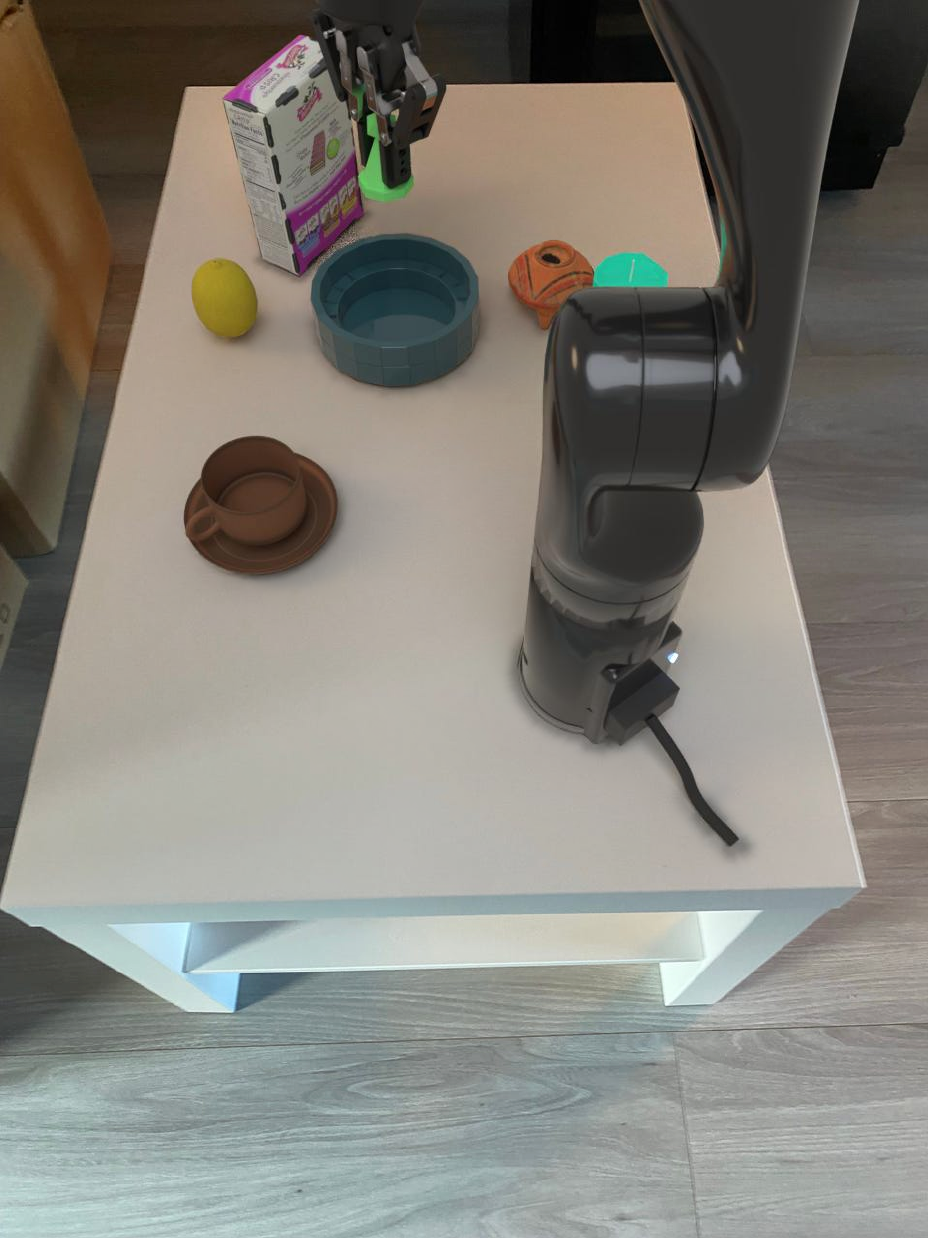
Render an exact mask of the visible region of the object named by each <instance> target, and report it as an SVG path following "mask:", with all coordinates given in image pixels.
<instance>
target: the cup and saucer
mask: <svg viewBox="0 0 928 1238" xmlns="http://www.w3.org/2000/svg"><path fill="white" fill-rule="evenodd" d="M200 472H201V473H200V477H199V479H198V480H197V481H196V482H195V484H194V485H193V487H192V488H191V490H190V492H189V493H188V496H187V498H186V501H185V505H184V510H183V526H184V533H185V536H186V538H187V539H188V540H189V542H190V544H191V545H192V547H193V548H194V549H195V550H196V551H197V553H198V554H199V555H201V556H202V557H203V558H204V559H205V560H207V561H208V562H209V563H210V564H212V565H214V566H216V567H218V568H221V569H223V570H226V571H229V572H232V573H233V572H234V573H236V574H243V575H262V574H263V575H264V574H270V573H275V572H279V571H282V570H285V569H288V568H290V567H293V566H295V565H297V564H299V563H301V562H302V561H304V560H306V559H307V558H309V557H310V556H311V555H313V554H314V553H315V552H317V550H318V549H319V548H321V546H322V545H323V544H324V543H325V541H326V540H327V539H328V537H329V536H330V535H331V532H332V530H333V528H334V526H335V522H336V520H337V515H338V507H339V505H338V504H339V502H338V492H337V489H336V486H335V484H334V482H333V480H332V479H331V477H330V475H329V474H328V473H327V471H326V470H325V469H324V468H323V467H322V466H321V465H320V464H318V462H316V461H314V460H313V459H311V458H309V457H307V456H305V455H303V454H300V453H297V452H294V451H293V449H292V448H291V447H290V446H288V444H286V443H284V442H282V441H281V440H279V439H276V438H274V437H270V436H266V435H247V436H242V437H238V438H237V437H236V438H234V439H231V440H229V441H227V442H225V443H223V444H222V445H220V446H219V447H217V448H216V449H215V450H213V452H212V453H211V454H210V455H209V456H208V457H207V458H206V460H205V462H204V464H203V466H202V468H201V471H200Z"/></svg>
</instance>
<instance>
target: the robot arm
mask: <svg viewBox="0 0 928 1238" xmlns="http://www.w3.org/2000/svg"><path fill="white" fill-rule="evenodd" d="M314 1H315V4H316V6H317V7H318V8H317V9H313V10H312V11H310V13H309V19H310V23H311V26H312V28H313V31H314V34H315V37H316V40H318V43H319V46H320V49H321V52H322V55H323V58H324V61H325V64H326V67H327V70H328V73H329V76H330V79H331V82H332V85H333V88H334V91H335V94H336V96H337V98H338V100H339V101H340V102H344V101H347V102H348V103H349V111H350V115H351V120H352V121H353V122H356V131H357V141H358V150H359V156H360V164H361V166H363V167H364V168H366V165H367V162H368V159H369V156H370V152H371V149H372V146H373V143H374V140H375V137H372V136H370V135H368V132H367V116H368V115H370V114H373V113H375V114H376V120H377V127H378V134H379V138H380V140H379V152H380V163H381V174H382V182H383V183H384V184H385V185H386V186H387V187H388V188H390V189H393V188H395V187H397V186H399V185H401V184H403V183H405V182H407V181H408V180H409V179H410V177H411V173H412V161H411V160H412V159H411V158H412V157H411V145H412V144H414V143H417V142H419V141H423V140H424V139H427V138H429V137H430V134H431V131H432V129H433V126H434V124H435V121H436V118H437V116H438V113H439V110H440V108H441V105H442V102H443V100H444V98H445V95H446V92H447V83H446V80H445V78H444V76H443V75H442V73H441V74H440V73H436V74H434V75H432V76H430V74H429V73H428V71H427V69H426V67H425V66H424V65H423V63H422V61H421V60H420V58H421V54H422V48H421V47H422V46H421V43H420V40H419V37H418V36H419V35H418V32H417V26H416V19H417V16H418V14H419V12H420V10H421V9H422V7H423V6H424V4H425V2H426V0H314ZM638 3H639V6H640V8H641V10H642V12H643V15H644V17H645V19H646V22H647V25H648V27H649V29H650V30H651V33H652V35H653V37H654V39H655V42H656V44H657V46H658V48H659V50H660V53H661V55H662V56H663V59H664V61H665V63H666V66H667V68H668V70H669V71H670V73H671V76H672V78H673V80H674V82H675V84H676V86H677V88H678V90H679V92H680V93H679V94H680V95H681V97H682V99H683V101H684V104H685V107H686V109H687V111H688V113H689V116H690V119H691V121H692V123H693V126H694V128H695V131H696V134H697V137H698V141H699V143H700V146H701V150H702V151H703V156H704V159H705V162H706V165H707V169H708V171H709V175H710V179H711V181H712V185H713V189H714V193H715V198H716V202H717V203H716V204H717V209H718V214H719V226H720V227H719V228H720V256H719V268H718V275H717V277H716V281H715V282H714V285H712V286H709V287H708V286H703V287H702V286H701V287H700V286H667V287H586V288H580V289H577V290H575V291H573V292H572V293H570V294H569V295H568V296H567V297H566V298H565V299H564V300H563V301H562V303H561V305H560V306H559V308H558V310H557V312H556V313H555V314H554V315H553V318H552V321H551V324H550V328H549V332H548V337H547V341H546V342H547V343H546V348H545V354H544V366H543V379H542V380H543V383H542V435H541V436H542V441H541V443H542V445H541V464H540V465H541V467H540V479H539V485H538V486H539V487H538V494H537V495H538V496H537V497H538V498H537V505H536V514H535V515H536V516H535V522H534V531H533V532H534V533H533V542H532V552H531V560H530V561H531V562H530V571H529V581H528V582H529V583H528V591H527V593H528V594H527V601H526V610H525V611H526V613H525V621H524V622H525V623H524V633H523V638H522V643H521V647H520V651H519V654H518V655H519V656H518V660H517V665H516V669H518V668H519V681H520V686H521V690H522V692H523V695H524V697H525V700H526V701H527V702H528V704H529V705H530V707H531V708H532V709H533V711H534V712H535V713H537V714H538V715H539V717H541V718H542V719H543V720H544V721H546V722H547V723H549V724H550V725H553V726H554V727H556V728H559V729H561V730H564V731H566V732H569V733H570V732H571V733H574V734H580V735H581V734H582V735H583V736H585V737H586V738H588V739H589V741H590V742H591V743H592V744H595V745H596V744H599V743H601V742H602V741H603V740H605V739H606V738H607V737H608V736H610V737H611V739H613V741H614V742H616V744H617V745H618V746H619V747H620V746H622V745H624V744H625V743H627V742H628V741H629V740H630V739H632V738H634V736H636V735H637V734H639V733H640V732H641V731H642V730H643V729H644V728H647V726H648V728H649V730H650V731H651V732H652V733H653V735H654V736H655V738H656V740H658V742H659V743H660V745H661V746H662V748H663V749H664V751H665V752H666V754H667V755H668V757H669V758H670V760H671V761H672V763H673V765H674V767H675V769H677V772H678V774H679V776H680V778H681V781H682V784H683V786H684V790H685V792H686V795H687V796H688V798H689V800H690V802H691V803H692V805H693V806H694V808H695V810H696V811H697V813H698V814H699V815H700V816H701V818H703V820H704V821H705V822H706V823H707V824H708V825H709V827H710V828H712V830H714V831H715V833H716V834H717V835H718V836H719V837H720V838H721V839H722V840H723V841H724V842H725V843H726V844H727V846H728V847H732V846H733V845H734V844H736V843H737V842H738V841H739V840H740V838H739V837H738V836H737V834H736V833H735V832H734V831H733V830H732V829H731V828H730V827H729V826H728V825H727V824H726V823H725V822H724V821H723V820H722V818H720V816H718V815H717V813H716V812H715V811H714V810H713V809H712V808H711V806H710V805H709V804H708V802H707V801H706V799H705V798H704V797H703V795H702V794H701V791H700V790H699V787H698V785H697V781H696V779H695V776H694V773H693V770H692V769H691V767H690V765H689V763H688V761H687V759H686V758H685V756H684V754H683V753H682V751H681V750H680V748H679V746H678V745H677V744H676V742H675V740H674V739H673V738H672V736H671V735H670V734H669V732H668V730H667V729H666V728H665V726H664V724H663V723H662V722H661V720H660V719H659V717H661V716H662V715H663V714H664V713H666V712H667V711H668V710H670V709H671V708H672V707H673V706H674V705H675V702H676V699H677V697H678V695H679V692H680V690H681V688H680V686H678V684H677V683H676V682H674V680H673V679H672V678H671V677H670V676H669V675H668V672H669V671H670V668H671V665H672V664H673V663H674V662H675V661H676V659H678V656H679V654H678V653H676V651H677V648H678V646H679V644H680V641H681V639H682V636H683V630H682V628H681V627H680V626H679V625H678V624H677V623H676V622H675V621H674V618H675V615H676V613H677V610H678V608H679V605H680V602H681V599H682V597H683V593H684V590H685V587H686V585H687V583H688V580H689V577H690V574H691V572H692V568H693V565H694V563H695V561H696V560H695V559H697V555H698V552H699V549H700V547H701V543H702V540H703V536H704V531H705V530H704V529H705V517H704V509H703V505H702V501H701V498H700V496H699V494H698V493H702V492H703V493H705V492H706V493H707V492H727V491H734V490H735V491H736V490H741V489H743V488H747V487H749V486H751V485H752V484H754V483H755V482H756V481H757V480H759V478H760V477H761V476H762V475H763V473H764V472H765V470H766V468H767V467H768V464H769V463H770V461H771V459H772V457H773V455H774V451H775V449H776V447H777V445H778V441H779V438H780V435H781V432H782V428H783V424H784V421H785V416H786V412H787V407H788V403H789V398H790V397H789V396H790V392H791V386H792V379H793V374H794V367H795V361H796V355H797V347H798V342H799V336H800V328H801V322H802V315H803V314H802V313H803V307H804V301H805V293H806V287H807V281H808V280H807V279H808V274H809V267H810V266H809V265H810V260H811V253H812V247H813V245H812V244H813V240H814V239H813V238H814V232H815V224H816V218H817V217H816V216H817V212H818V205H819V199H820V192H821V186H822V179H823V172H824V169H825V162H826V157H827V151H828V146H829V139H830V136H831V130H832V125H833V120H834V114H835V109H836V104H837V99H838V95H839V90H840V87H841V81H842V78H843V73H844V69H845V64H846V60H847V55H848V52H849V47H850V42H851V38H852V34H853V30H854V25H855V21H856V16H857V11H858V7H859V3H860V0H638ZM340 62H341V69H340ZM397 110H398V115H397V117H396V121H395V122H393V123H391V119H390V115H391V114H393V112H395V111H397ZM412 174H413V173H412Z"/></svg>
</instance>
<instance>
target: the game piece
mask: <svg viewBox="0 0 928 1238" xmlns="http://www.w3.org/2000/svg"><path fill="white" fill-rule="evenodd" d="M390 119H391V123H393V122H395V121H397V115H396V114H393V113H391V115H390ZM367 132H368V135H370V136H372V137H375V140H374V143H373V146H372V149H371V152H370V156H369V159H368V162H367V165H366V168H365V167H364V168H363V169H362V170H361V171H360V173H359V176H358V181H359V186H360V189H361V193H362V194H363V195H364V197H365V198H366V199H369V200H374V201H376V202H381V203H383V204H384V203H390V202H393V201H396V200H400V199H404V198H406V197H407V196H408V195H409V193H410V192H411V190H412V189H413V187H414V186H415V179H414V177H415V176H414V174H413V173H411V177H410V179H409V180H408V181H407V182H405V183H403V184H401V185H399V186H397V187H395V188H393V189H390V188H388V187H387V186H386V185H385V184H384V183H383V182H382V174H381V163H380V152H379V140H380V138H379V134H378V127H377V120H376V114H375V113H373V114H370V115H368V116H367Z"/></svg>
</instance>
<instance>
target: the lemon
mask: <svg viewBox="0 0 928 1238" xmlns="http://www.w3.org/2000/svg"><path fill="white" fill-rule="evenodd" d="M191 301H192V302H191V303H192V305H193V308H194V311H195V315H196V316H197V318H198V319H199V322H201V324H202V325H203V326H204V327H205V329H206V330H208V331H209V332H211V333H212V334H214V335H216V336H219V337H222V338H236V337H239V336H242V335H244V334H245V333H246V332H248V331H249V330H250V329H251V328H252V326H253V325H254V323H255V322H256V319H257V315H258V309H259V304H258V297H257V292H256V288H255V285H254V283H253V281H252V280H251V278H250V276H249V274H248V273H247V272H246V270H245V269H244V268H243V267H242V266H240V265H239V263H237V262H234V261H233V260H231V259H228V258H227V259H226V258H221V257H219V258H211V259H209V260H207V261H205V262H203V263H202V264H200V266H199V267H198V268H197V269H196V271H195V272H194V274H193V277H192V280H191Z"/></svg>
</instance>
